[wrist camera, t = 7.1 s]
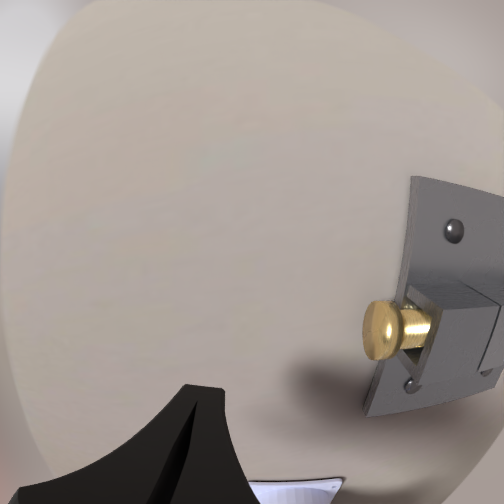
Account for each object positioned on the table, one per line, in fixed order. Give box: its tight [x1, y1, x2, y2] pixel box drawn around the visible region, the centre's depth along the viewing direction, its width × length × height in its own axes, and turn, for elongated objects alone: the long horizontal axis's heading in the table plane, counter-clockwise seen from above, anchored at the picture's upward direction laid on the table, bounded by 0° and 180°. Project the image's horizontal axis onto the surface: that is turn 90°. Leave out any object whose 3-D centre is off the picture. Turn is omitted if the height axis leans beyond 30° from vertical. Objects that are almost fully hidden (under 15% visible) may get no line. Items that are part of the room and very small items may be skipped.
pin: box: [363, 301, 432, 360], centre depth 11 cm, size 3×14×3 cm, turn 87°
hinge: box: [363, 176, 504, 417], centre depth 11 cm, size 14×12×4 cm
